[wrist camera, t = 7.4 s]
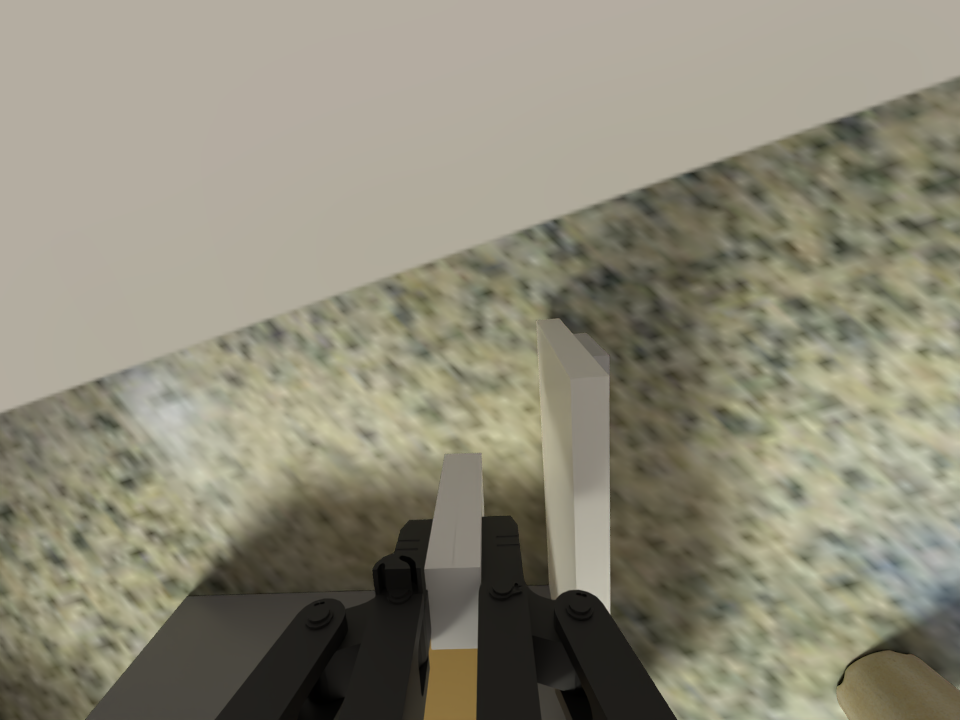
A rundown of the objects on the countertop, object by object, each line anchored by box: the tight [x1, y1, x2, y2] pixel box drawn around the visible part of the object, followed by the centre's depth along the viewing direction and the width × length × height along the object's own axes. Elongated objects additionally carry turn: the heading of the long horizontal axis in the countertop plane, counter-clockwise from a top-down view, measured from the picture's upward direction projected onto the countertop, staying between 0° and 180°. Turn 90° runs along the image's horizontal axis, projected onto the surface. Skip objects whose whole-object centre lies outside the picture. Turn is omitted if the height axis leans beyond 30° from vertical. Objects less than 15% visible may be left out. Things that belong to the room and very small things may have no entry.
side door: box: [536, 318, 610, 614], centre depth 21 cm, size 17×2×10 cm, turn 5°
